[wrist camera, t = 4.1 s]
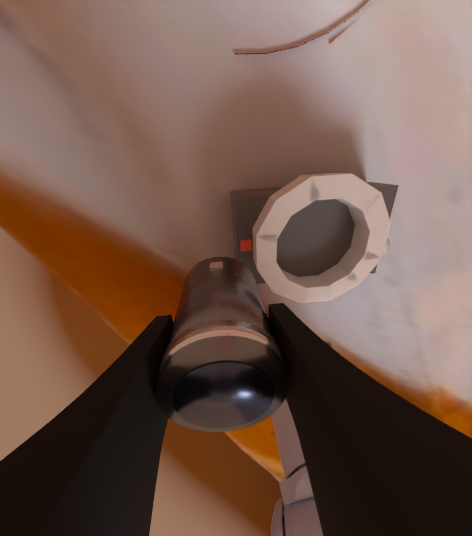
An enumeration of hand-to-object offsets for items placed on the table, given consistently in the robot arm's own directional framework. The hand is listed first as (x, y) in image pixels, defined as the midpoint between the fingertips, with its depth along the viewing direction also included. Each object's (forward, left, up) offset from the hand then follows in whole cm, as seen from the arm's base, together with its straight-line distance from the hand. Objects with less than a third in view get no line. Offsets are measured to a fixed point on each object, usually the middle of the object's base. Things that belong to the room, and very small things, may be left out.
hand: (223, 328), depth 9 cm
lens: (0, 0, -3) cm, 3 cm away
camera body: (+2, -6, -9) cm, 11 cm away
